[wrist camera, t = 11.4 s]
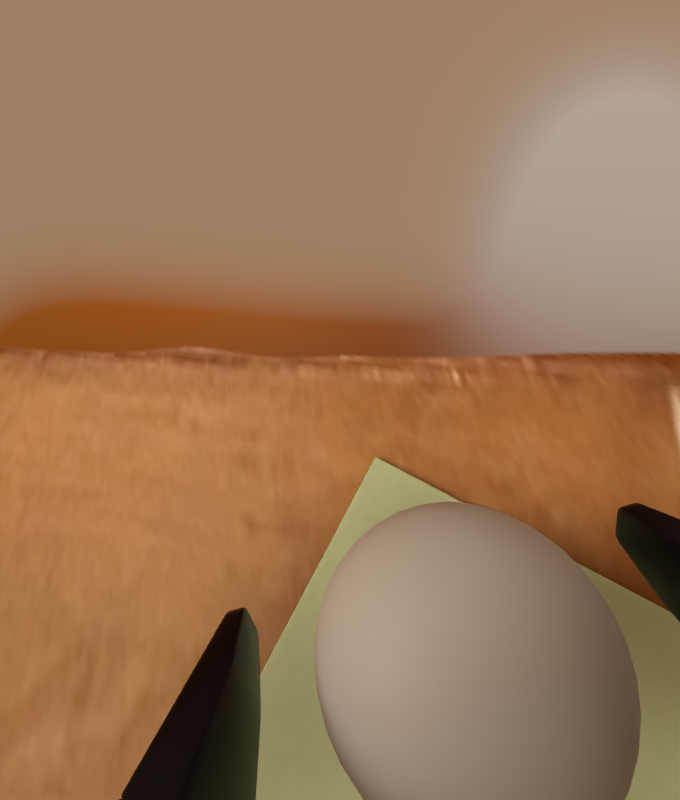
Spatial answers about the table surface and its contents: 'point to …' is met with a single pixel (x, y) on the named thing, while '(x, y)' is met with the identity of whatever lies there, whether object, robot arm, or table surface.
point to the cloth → (296, 680)
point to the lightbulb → (473, 665)
